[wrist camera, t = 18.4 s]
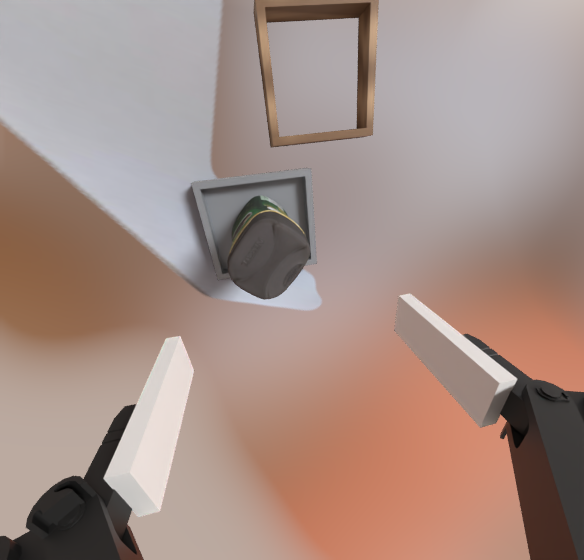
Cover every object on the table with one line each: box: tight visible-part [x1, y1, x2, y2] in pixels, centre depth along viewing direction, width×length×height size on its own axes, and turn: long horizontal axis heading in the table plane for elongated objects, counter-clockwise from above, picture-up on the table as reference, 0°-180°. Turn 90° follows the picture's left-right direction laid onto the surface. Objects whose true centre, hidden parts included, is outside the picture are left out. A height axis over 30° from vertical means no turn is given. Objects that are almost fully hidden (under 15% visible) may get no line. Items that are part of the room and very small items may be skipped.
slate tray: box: [191, 168, 317, 280], centre depth 41 cm, size 16×18×3 cm
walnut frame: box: [254, 0, 379, 147], centre depth 33 cm, size 15×15×4 cm
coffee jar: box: [227, 196, 310, 299], centre depth 33 cm, size 10×8×19 cm
